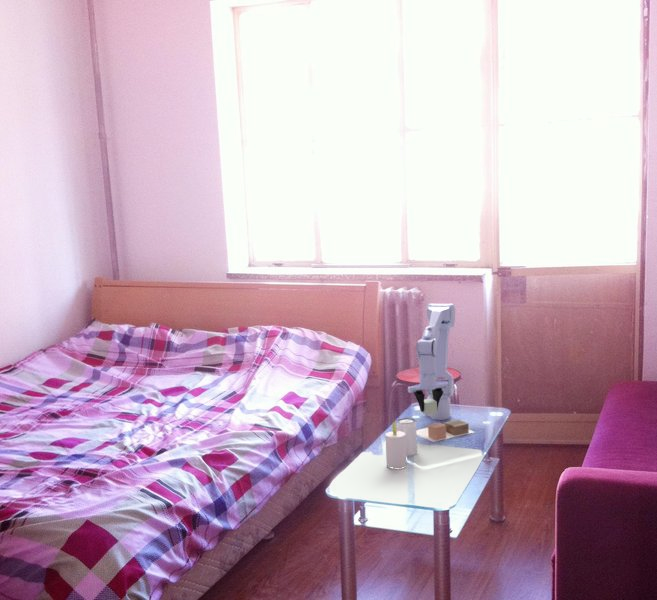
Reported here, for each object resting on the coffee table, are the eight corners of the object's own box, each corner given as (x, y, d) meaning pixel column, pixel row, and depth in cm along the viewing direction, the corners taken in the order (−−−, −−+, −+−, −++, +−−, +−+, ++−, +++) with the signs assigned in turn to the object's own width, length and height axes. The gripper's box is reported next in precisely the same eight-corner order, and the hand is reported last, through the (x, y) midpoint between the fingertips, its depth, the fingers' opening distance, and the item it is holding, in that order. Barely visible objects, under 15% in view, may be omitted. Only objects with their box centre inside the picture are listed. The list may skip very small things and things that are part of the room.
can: (395, 458, 252) (394, 423, 250) (399, 451, 258) (398, 417, 257) (415, 459, 250) (414, 423, 249) (418, 452, 256) (417, 417, 255)
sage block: (420, 411, 275) (420, 399, 274) (432, 410, 276) (432, 398, 276) (425, 415, 271) (425, 403, 270) (437, 413, 272) (436, 401, 271)
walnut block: (444, 431, 274) (444, 422, 274) (458, 428, 277) (458, 419, 276) (454, 435, 269) (454, 426, 268) (468, 432, 271) (468, 423, 271)
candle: (406, 462, 248) (405, 417, 246) (405, 469, 242) (404, 423, 240) (387, 462, 249) (385, 417, 247) (385, 469, 243) (384, 423, 241)
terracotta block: (428, 436, 269) (428, 424, 268) (438, 434, 271) (438, 422, 270) (435, 440, 265) (435, 427, 264) (446, 437, 267) (445, 425, 266)
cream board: (410, 434, 276) (410, 431, 276) (451, 425, 284) (451, 422, 284) (432, 444, 264) (432, 441, 263) (475, 434, 272) (475, 432, 271)
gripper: (412, 377, 266) (413, 415, 268) (451, 373, 269) (452, 410, 271) (405, 373, 273) (406, 410, 275) (443, 369, 276) (444, 405, 278)
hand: (428, 410), depth 274 cm, fingers closed on sage block, 4 cm apart
